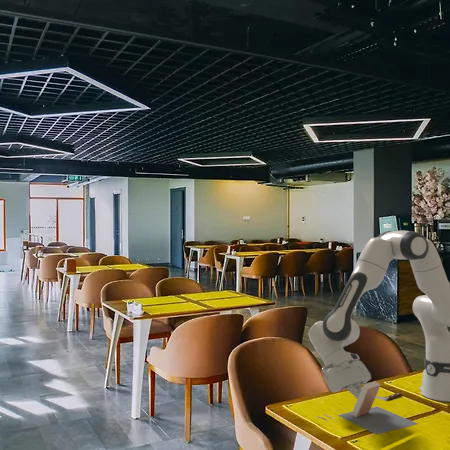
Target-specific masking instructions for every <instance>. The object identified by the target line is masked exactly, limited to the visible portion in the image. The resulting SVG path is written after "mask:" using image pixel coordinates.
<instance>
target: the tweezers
mask: <svg viewBox="0 0 450 450" xmlns="http://www.w3.org/2000/svg"><path fill="white" fill-rule="evenodd" d="M323 416H326V417H327V418H330V419H332V420H334V418H332V417H331V416H329V415H327V414H325V413H324V414H323ZM316 418H318V419H322V420H324V421H327V422H329V421H330V420H328V419H326V418H324V417H321V416H316Z"/></svg>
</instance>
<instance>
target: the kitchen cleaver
mask: <svg viewBox="0 0 450 450" xmlns="http://www.w3.org/2000/svg"><path fill="white" fill-rule="evenodd" d="M402 396H403V395H402V393H401V392H395V393H394V394H393V393H392V394H391V395H388V396H378V395H376V397H375V399H379V400H382V401H386V402H389V401H391V400H394V399H398V398H400V397H401V398H402Z"/></svg>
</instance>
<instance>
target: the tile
mask: <svg viewBox="0 0 450 450" xmlns="http://www.w3.org/2000/svg"><path fill="white" fill-rule="evenodd" d="M380 387H381V383H379V382H378V381H376V380H374V381H372V382H366V383H364V384H362V386H361V388H362V390H361V392H360V394H359V397H358V399H357V400H356V402H355V404H354V407H353V409H352V411H351V412H352V414H353V415H354V416H355V417H359V416H362V415H364V414H367V413H369V411H370V409H371V408H372V407H373V403H374V401H375V400H376V398H375V397H376V396H378V392H379V390H380Z"/></svg>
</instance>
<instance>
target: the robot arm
mask: <svg viewBox="0 0 450 450" xmlns="http://www.w3.org/2000/svg"><path fill="white" fill-rule="evenodd" d="M393 259H394V260H408V261H409V263H410V266H411V270H412V273H413V275H414V279H415V281H416V285H417V287H418V289H419V290H420V291H421V292H422V293H424V294H425V295H419V296H417V297H416V298H415V299H414V301H413V303H412V308H411V309H412V313H413V314H414V316H415V317H416V318H417V319H418V321H419V322H420V324H421V327H422V328H421V329H422V332H423V334H424V339H425V357H424V361H423V362H424V363H423V364H424V365H423V366H424V368H425V369H424V370H423V372H422V379H421V381H422V382H421V386H419V391H421V392H420V394H421V395H422V396H424V398H425V397H426V398H427V399H430V400H434V401H438V402H450V331H449V330H448V328H450V281H449V280H448V277H447V274H446V271H445V269H444V267H443V266H444V265H443V264H442V259H441V257H440V255H439V253H438V251H437V248H436V246H435V245H434V243H433V241H431V240H430V239H428V238H426V236H424V235H423V234H421V232H417V231H413V230H410V231H409V230H402V229H401V230H388V231H387V230H386V231H384V232H382V233H380V234H379V235H378V236H377V237H372V238H370V239H369V240H367V242H366V243H365V246H364V247H363V249H362V251H361V252H360V255H359V257H358V259H357V261H356V263H355V265H354V268H353V271H352V273H351V275H350V277H349V279H348V281H347V283H346V285H345V286H344V288H343V290H342V291H341V294H340V296H339V298H338V300H337V301H336V304H335V305H334V307H333V309H332V310H331V311H329V312H328V314H326V315H325V317H324V319H323V320H318V321H317V322H315V323H313V324H312V325H311V327H310V328H309V329H308V337H309V340H310V342H311V344H312V346H313V348H314V349H315V352H317V354H318V355H319V356H320V357H321V360H322V362H323V363H324V366H322V367H321V374H322V375H323V378H324V381H325V383H326V385H327V387H328V389H329V390H330V392H332V393H336V392H340V391H343V390H347V391H348V393H350V394H352V395H353V397H355V399H358V397H359V394H360V392H361V390H362V385H364V384H367V383H369V382H368V381H370V380H371V379H372V375H371V373H370V371H369V369H368V368H367V367H366V365H365V363H363V361H361V360H360V356H359V355H358V354H357V353H352V352H348V351H346V350H345V349H344V348H345V347H347V346H349V345H351V344H353V343H355V342H356V341H357V340H359V337H360V335H361V328H360V325H359V324H358V323H357V321H355V320H354V319H352V316H353V314H354V311H355V309H356V307H357V305H358V304H359V302H360V300H361V299H360V298H361V297H362V296H363V294H364V293H366V292H368V291H371V290H374V289H376V288H378V287H379V286H380V285H381V283H382V281H383V280H384V278H385V276H386V273H387V271H388V268H389V265H390V263H391V261H393Z"/></svg>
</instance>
